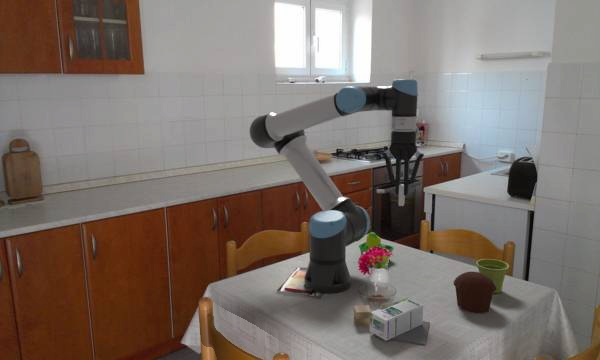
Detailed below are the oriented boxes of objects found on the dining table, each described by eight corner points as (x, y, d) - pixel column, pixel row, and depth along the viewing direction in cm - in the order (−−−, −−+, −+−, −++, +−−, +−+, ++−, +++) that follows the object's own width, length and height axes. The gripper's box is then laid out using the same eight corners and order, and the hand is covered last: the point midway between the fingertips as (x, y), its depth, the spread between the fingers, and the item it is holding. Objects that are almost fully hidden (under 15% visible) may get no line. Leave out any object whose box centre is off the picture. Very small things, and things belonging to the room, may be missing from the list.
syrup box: (423, 304, 128) (385, 319, 120) (422, 325, 129) (385, 341, 121) (407, 297, 133) (369, 311, 124) (406, 317, 134) (368, 332, 125)
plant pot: (502, 299, 145) (504, 271, 144) (470, 291, 151) (472, 265, 150) (510, 288, 153) (512, 262, 151) (480, 282, 158) (481, 256, 157)
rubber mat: (376, 337, 124) (376, 335, 124) (385, 316, 135) (385, 315, 135) (424, 345, 120) (424, 343, 120) (429, 323, 131) (429, 322, 131)
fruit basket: (394, 259, 180) (395, 230, 178) (381, 266, 173) (382, 236, 171) (368, 253, 187) (369, 225, 185) (355, 259, 181) (356, 230, 179)
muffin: (497, 303, 143) (499, 271, 141) (492, 318, 133) (494, 284, 131) (456, 295, 148) (457, 264, 146) (448, 309, 139) (450, 276, 137)
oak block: (356, 326, 130) (356, 312, 129) (354, 319, 134) (354, 305, 133) (370, 325, 130) (371, 312, 129) (368, 318, 134) (368, 305, 133)
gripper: (380, 130, 147) (378, 206, 152) (424, 131, 143) (421, 209, 147) (384, 129, 154) (383, 200, 159) (426, 129, 150) (423, 203, 154)
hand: (401, 204), depth 153 cm, fingers closed
